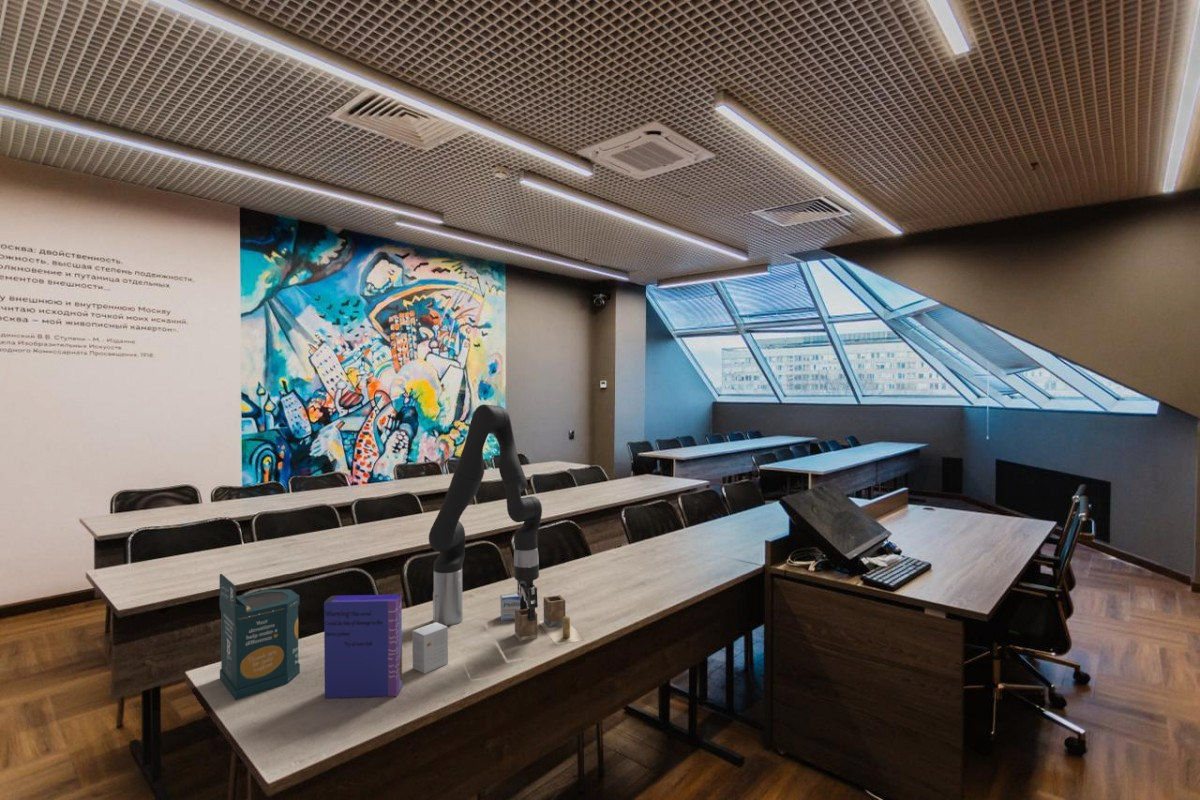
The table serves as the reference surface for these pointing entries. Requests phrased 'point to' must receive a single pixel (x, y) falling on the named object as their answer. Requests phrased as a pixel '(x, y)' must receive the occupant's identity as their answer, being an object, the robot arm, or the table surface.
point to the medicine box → (509, 606)
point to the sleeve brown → (525, 625)
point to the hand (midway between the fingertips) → (527, 615)
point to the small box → (430, 647)
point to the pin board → (562, 632)
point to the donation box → (257, 639)
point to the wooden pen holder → (554, 611)
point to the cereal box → (363, 646)
